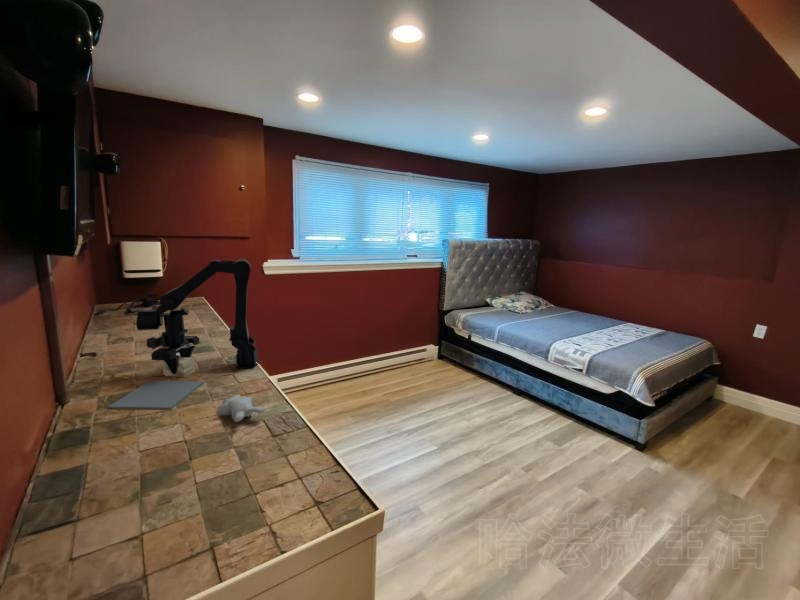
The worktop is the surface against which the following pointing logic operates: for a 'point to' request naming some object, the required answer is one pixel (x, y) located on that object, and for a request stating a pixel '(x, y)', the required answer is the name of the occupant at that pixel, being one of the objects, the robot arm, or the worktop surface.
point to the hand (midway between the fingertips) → (179, 370)
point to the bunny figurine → (238, 407)
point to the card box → (180, 367)
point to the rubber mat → (157, 395)
